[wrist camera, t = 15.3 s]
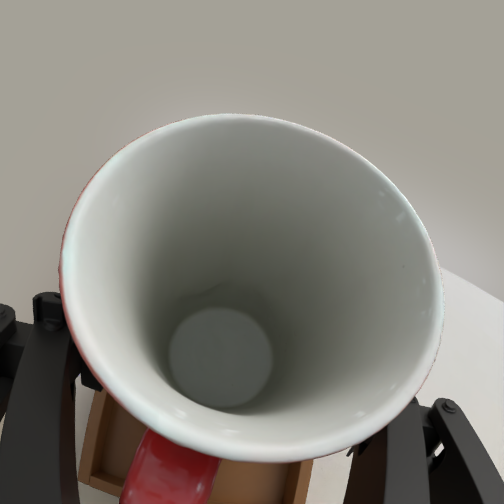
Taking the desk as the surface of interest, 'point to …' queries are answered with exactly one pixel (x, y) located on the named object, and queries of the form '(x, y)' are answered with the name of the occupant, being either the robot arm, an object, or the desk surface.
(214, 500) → the tray
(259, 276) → the mug
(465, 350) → the desk surface
